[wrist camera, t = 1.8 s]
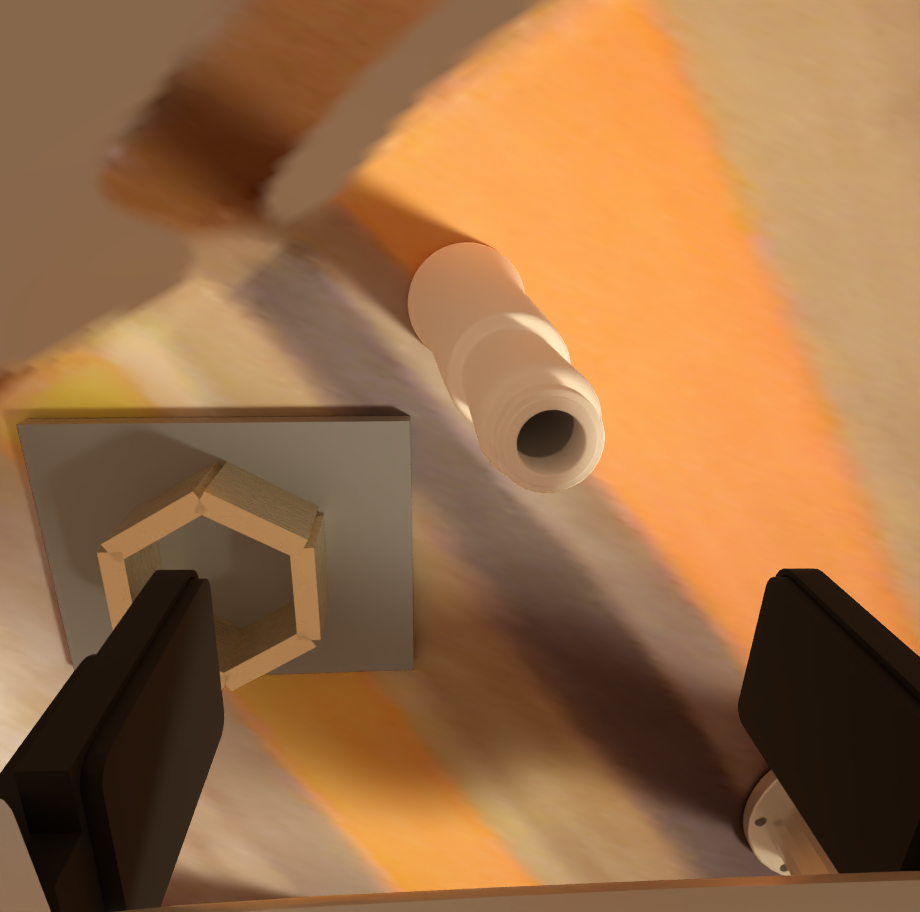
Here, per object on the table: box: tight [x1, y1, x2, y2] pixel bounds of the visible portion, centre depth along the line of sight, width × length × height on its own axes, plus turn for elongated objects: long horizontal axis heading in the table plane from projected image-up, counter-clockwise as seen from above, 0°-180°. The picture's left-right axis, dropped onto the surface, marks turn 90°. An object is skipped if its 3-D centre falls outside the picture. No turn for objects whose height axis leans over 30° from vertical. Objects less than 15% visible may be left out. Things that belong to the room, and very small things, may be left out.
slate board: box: [16, 416, 414, 675], centre depth 37 cm, size 20×16×1 cm
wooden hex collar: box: [97, 462, 330, 692], centre depth 35 cm, size 10×12×4 cm
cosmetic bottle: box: [408, 242, 605, 493], centre depth 23 cm, size 6×6×22 cm
